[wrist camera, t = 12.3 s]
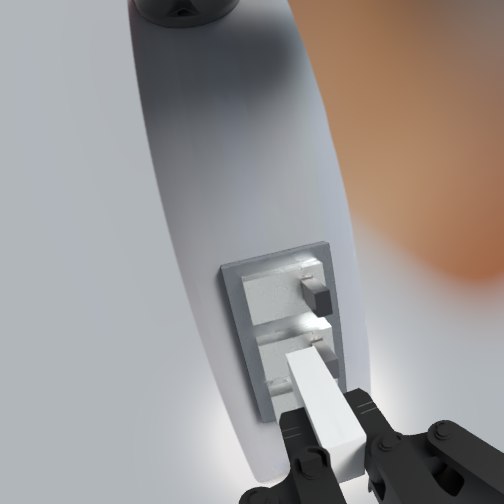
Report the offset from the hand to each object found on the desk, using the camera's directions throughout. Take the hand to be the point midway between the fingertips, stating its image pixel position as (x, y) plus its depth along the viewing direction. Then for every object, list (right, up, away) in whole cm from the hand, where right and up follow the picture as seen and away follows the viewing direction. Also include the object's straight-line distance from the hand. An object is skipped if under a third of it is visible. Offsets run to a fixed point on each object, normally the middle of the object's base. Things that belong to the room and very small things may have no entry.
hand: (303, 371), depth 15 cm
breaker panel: (+2, -5, +25) cm, 26 cm away
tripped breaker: (+5, -6, +20) cm, 22 cm away
